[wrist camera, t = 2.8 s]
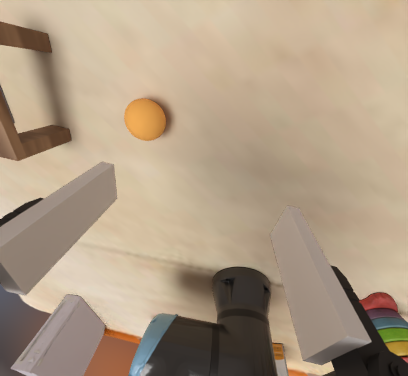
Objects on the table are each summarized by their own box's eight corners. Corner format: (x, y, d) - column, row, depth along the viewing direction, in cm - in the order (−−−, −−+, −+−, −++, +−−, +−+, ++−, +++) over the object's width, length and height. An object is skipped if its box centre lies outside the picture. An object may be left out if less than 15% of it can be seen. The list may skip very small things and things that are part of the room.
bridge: (47, 33, 23) (-47, 9, 15) (71, 140, 30) (17, 161, 23) (25, 28, 23) (-81, 1, 15) (55, 136, 30) (-5, 155, 23)
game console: (80, 295, 64) (27, 371, 47) (107, 326, 78) (74, 394, 61) (66, 293, 65) (10, 368, 48) (96, 325, 79) (60, 391, 62)
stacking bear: (382, 289, 41) (468, 408, 26) (405, 306, 44) (497, 424, 29) (339, 304, 47) (390, 410, 32) (361, 318, 49) (420, 423, 34)
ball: (172, 101, 25) (159, 106, 20) (168, 138, 28) (156, 150, 23) (135, 93, 25) (114, 95, 20) (135, 130, 28) (117, 140, 23)
